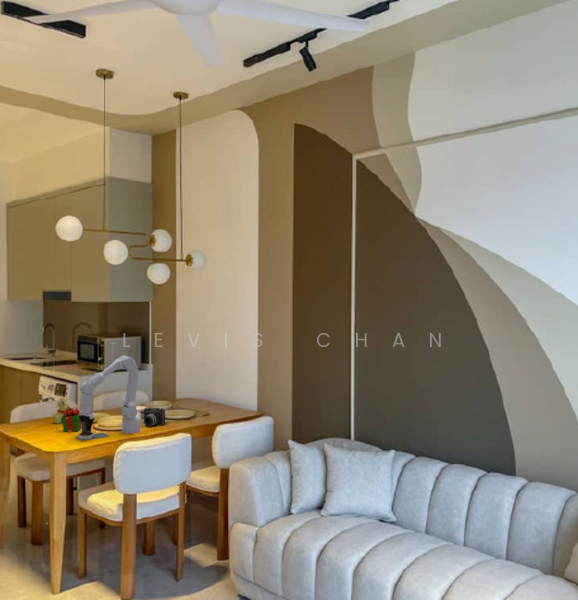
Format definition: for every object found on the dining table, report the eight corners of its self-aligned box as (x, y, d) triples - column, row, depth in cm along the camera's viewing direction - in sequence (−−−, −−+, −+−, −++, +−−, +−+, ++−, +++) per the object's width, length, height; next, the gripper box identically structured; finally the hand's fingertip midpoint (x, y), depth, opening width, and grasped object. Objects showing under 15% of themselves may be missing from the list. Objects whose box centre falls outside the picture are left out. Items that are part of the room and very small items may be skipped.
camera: (136, 425, 352) (136, 409, 351) (147, 421, 362) (147, 405, 361) (156, 428, 346) (156, 411, 346) (166, 424, 356) (167, 407, 356)
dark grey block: (89, 431, 323) (89, 420, 323) (92, 433, 319) (92, 422, 319) (80, 432, 320) (80, 421, 320) (83, 434, 316) (83, 423, 316)
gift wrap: (60, 431, 342) (57, 407, 343) (93, 427, 344) (90, 403, 344) (49, 439, 322) (46, 412, 323) (84, 434, 324) (81, 408, 324)
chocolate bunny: (73, 421, 359) (73, 397, 358) (55, 424, 351) (55, 399, 350) (67, 419, 364) (67, 395, 363) (50, 422, 356) (50, 397, 355)
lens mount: (103, 434, 331) (103, 428, 331) (110, 438, 324) (110, 432, 323) (74, 438, 321) (74, 433, 321) (81, 443, 313) (81, 437, 313)
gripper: (74, 403, 322) (74, 427, 322) (84, 407, 311) (84, 433, 312) (86, 401, 327) (86, 425, 327) (97, 406, 316) (97, 431, 316)
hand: (86, 429), depth 320 cm, fingers closed on dark grey block, 5 cm apart
